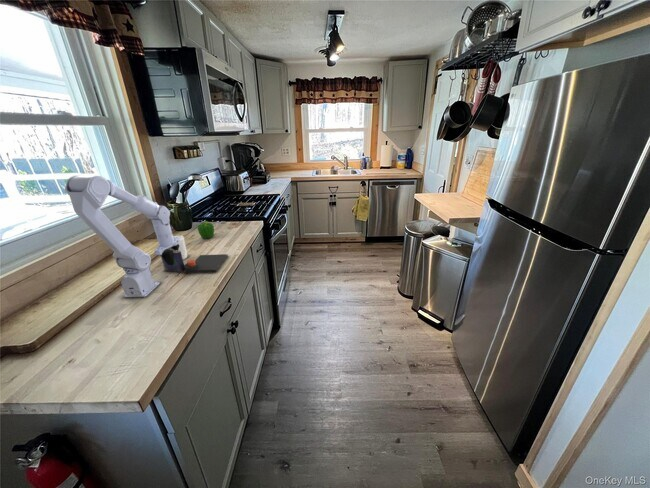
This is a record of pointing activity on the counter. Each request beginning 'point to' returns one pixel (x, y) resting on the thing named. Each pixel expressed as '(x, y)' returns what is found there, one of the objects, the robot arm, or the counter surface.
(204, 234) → the bell pepper
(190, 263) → the tare button
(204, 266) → the scale
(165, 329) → the counter surface
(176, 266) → the dark blue flat block
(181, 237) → the white cup
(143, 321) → the counter surface
